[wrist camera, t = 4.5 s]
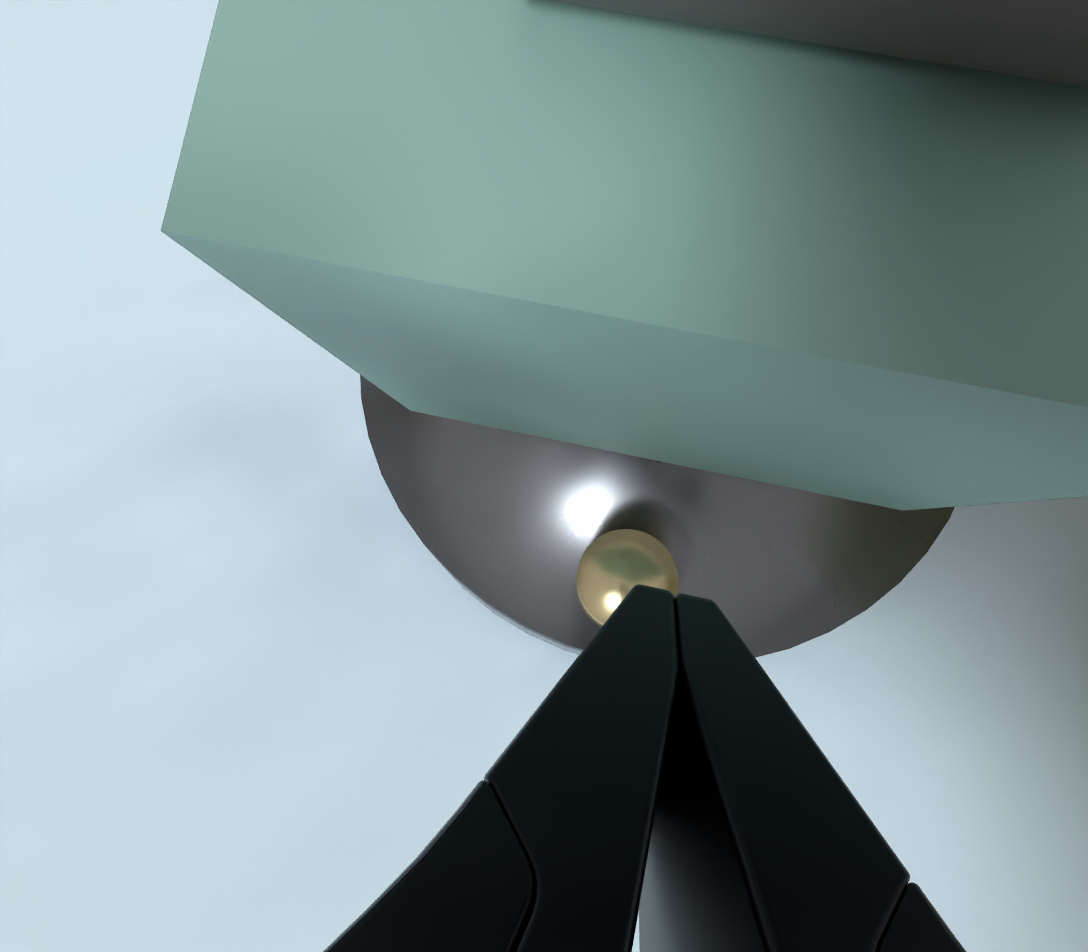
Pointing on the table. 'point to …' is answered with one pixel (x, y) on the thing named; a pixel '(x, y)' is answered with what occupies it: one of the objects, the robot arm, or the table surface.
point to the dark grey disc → (633, 532)
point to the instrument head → (676, 225)
